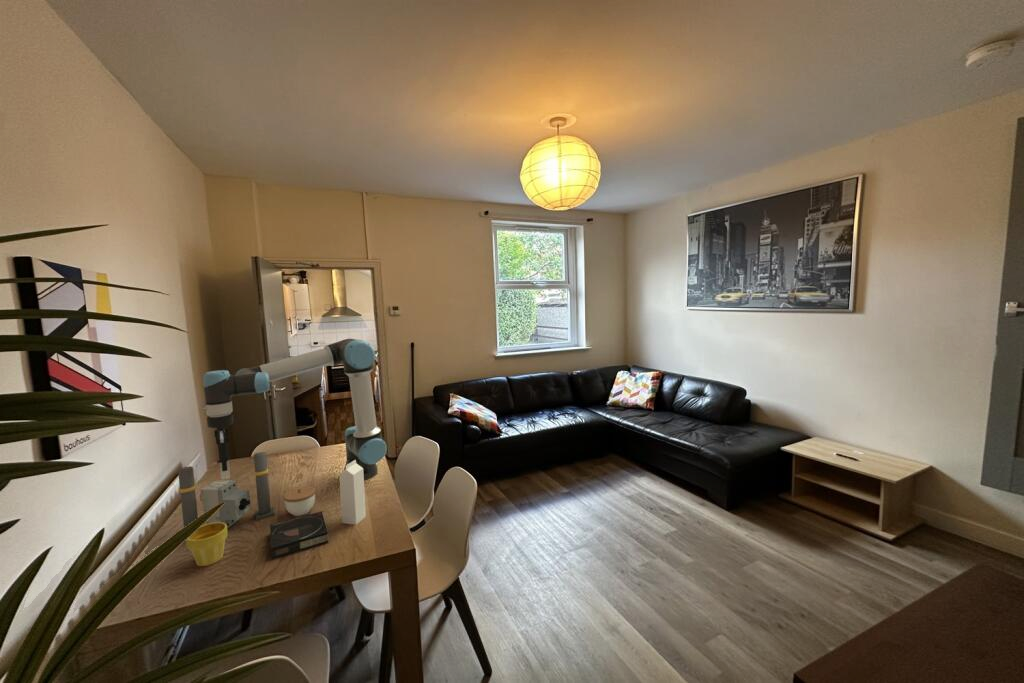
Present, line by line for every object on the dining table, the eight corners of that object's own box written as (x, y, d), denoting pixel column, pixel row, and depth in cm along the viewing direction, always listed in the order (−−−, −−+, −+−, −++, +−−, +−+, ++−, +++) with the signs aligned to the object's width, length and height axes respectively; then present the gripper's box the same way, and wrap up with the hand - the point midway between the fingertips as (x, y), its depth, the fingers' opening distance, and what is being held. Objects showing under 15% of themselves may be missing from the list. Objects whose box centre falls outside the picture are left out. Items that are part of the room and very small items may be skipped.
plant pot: (183, 574, 120) (180, 543, 119) (194, 555, 130) (191, 526, 129) (225, 565, 124) (222, 535, 124) (233, 546, 134) (230, 518, 133)
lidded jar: (322, 507, 159) (321, 484, 158) (300, 521, 149) (298, 496, 148) (301, 503, 163) (300, 481, 162) (278, 516, 153) (276, 493, 152)
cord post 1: (203, 527, 146) (196, 463, 143) (202, 535, 141) (196, 469, 139) (181, 533, 142) (175, 468, 140) (180, 541, 137) (173, 473, 135)
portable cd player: (271, 561, 126) (270, 549, 126) (271, 535, 141) (270, 524, 141) (328, 544, 135) (327, 533, 135) (322, 521, 149) (321, 511, 149)
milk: (342, 523, 147) (337, 465, 145) (352, 514, 153) (348, 458, 151) (356, 525, 146) (352, 466, 143) (366, 516, 152) (362, 459, 149)
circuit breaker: (242, 529, 144) (238, 489, 143) (203, 530, 144) (199, 489, 143) (255, 518, 152) (252, 480, 150) (218, 518, 152) (215, 480, 150)
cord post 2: (273, 508, 159) (268, 449, 156) (274, 515, 154) (270, 454, 151) (255, 513, 155) (250, 453, 153) (256, 520, 150) (251, 458, 148)
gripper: (207, 412, 146) (212, 475, 148) (206, 420, 135) (212, 487, 138) (232, 408, 150) (237, 469, 153) (233, 416, 140) (238, 481, 142)
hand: (225, 478), depth 145 cm, fingers closed
